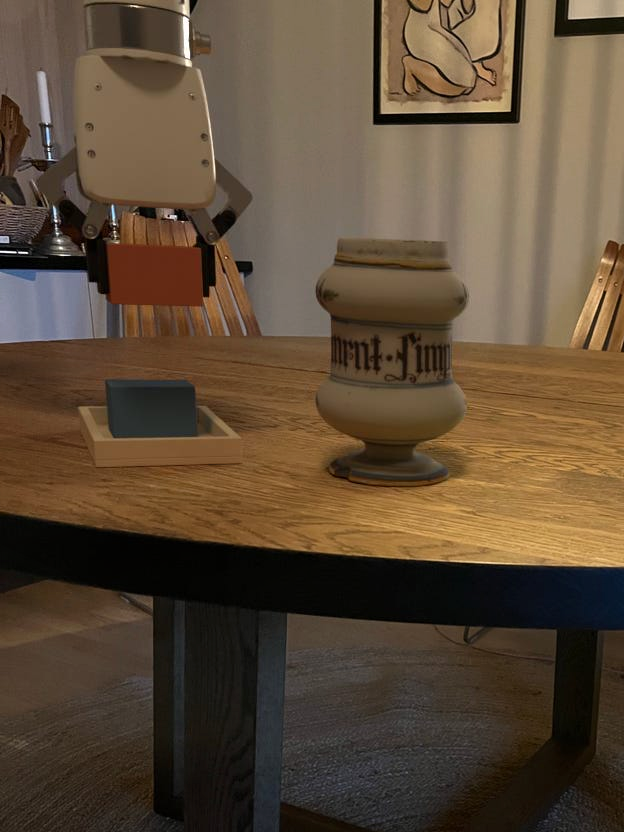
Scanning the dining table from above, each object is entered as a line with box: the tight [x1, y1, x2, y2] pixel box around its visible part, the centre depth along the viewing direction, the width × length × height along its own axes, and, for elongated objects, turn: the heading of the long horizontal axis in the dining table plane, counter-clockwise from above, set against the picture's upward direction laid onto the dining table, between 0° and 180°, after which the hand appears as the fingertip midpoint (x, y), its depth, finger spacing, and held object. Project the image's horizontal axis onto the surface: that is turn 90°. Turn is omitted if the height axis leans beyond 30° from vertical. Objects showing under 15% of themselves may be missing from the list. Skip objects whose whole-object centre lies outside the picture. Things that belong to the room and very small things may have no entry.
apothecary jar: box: [315, 237, 470, 488], centre depth 81 cm, size 12×12×18 cm
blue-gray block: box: [104, 378, 197, 439], centre depth 91 cm, size 7×5×4 cm, turn 114°
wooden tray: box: [77, 405, 243, 468], centre depth 89 cm, size 17×11×2 cm
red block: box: [105, 242, 204, 308], centre depth 83 cm, size 7×5×4 cm, turn 114°
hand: (153, 293), depth 83 cm, fingers closed on red block, 7 cm apart
